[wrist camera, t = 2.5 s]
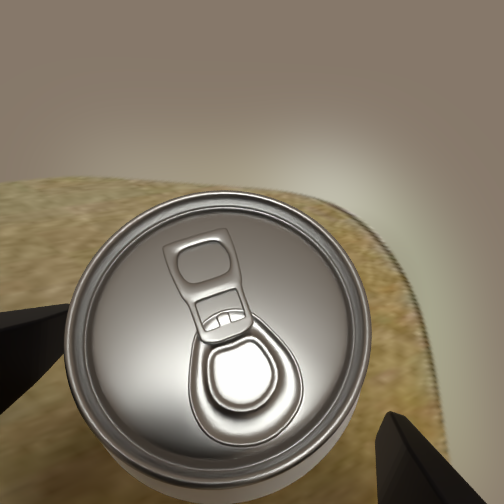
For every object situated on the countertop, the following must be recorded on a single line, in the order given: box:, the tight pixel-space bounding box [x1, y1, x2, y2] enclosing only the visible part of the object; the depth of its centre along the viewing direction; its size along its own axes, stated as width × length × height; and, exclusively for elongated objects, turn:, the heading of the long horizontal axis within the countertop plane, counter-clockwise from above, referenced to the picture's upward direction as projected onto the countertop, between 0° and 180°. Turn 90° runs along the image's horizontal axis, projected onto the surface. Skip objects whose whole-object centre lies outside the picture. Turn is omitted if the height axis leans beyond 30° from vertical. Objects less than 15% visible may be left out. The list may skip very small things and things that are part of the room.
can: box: [64, 190, 372, 504], centre depth 11 cm, size 6×6×12 cm
